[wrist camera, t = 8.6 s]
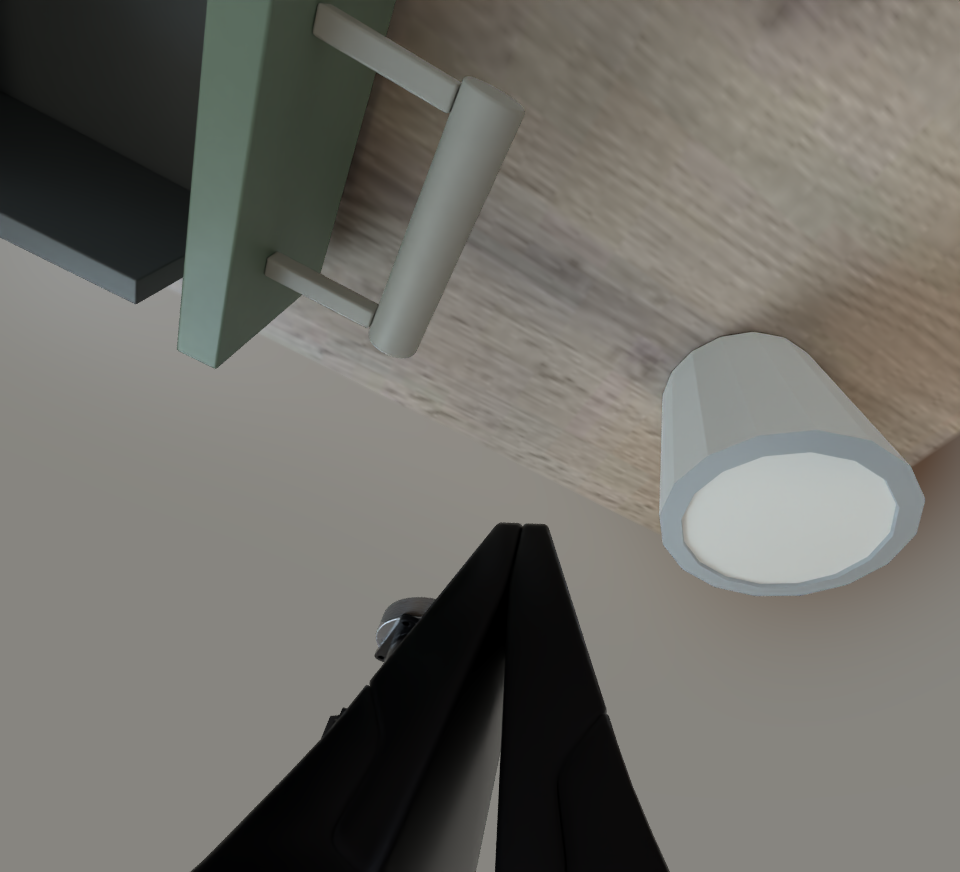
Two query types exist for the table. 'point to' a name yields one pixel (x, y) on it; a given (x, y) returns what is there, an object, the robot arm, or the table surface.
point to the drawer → (227, 156)
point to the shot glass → (776, 473)
